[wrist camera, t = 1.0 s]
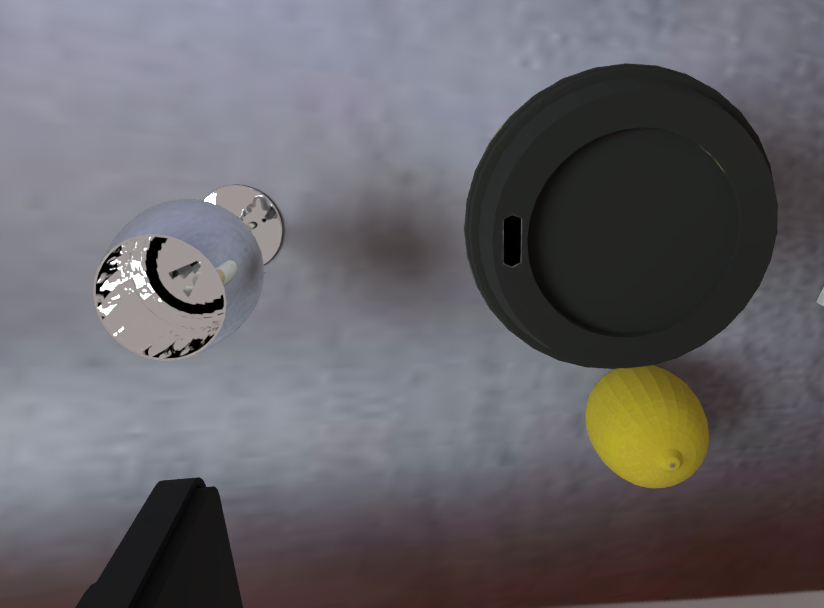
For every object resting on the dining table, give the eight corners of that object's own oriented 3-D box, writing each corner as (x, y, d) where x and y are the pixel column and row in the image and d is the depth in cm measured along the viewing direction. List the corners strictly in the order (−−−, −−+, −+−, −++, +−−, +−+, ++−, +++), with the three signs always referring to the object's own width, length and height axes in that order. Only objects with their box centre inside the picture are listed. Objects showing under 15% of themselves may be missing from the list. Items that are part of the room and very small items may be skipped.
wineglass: (312, 201, 36) (267, 260, 24) (270, 300, 38) (209, 399, 26) (204, 152, 35) (105, 189, 24) (166, 255, 37) (56, 336, 25)
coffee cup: (637, 264, 37) (779, 383, 23) (447, 270, 37) (470, 393, 23) (650, 63, 34) (824, 55, 20) (443, 71, 34) (466, 68, 20)
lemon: (551, 380, 39) (586, 454, 31) (638, 322, 38) (695, 384, 30) (606, 452, 40) (651, 539, 33) (691, 398, 39) (758, 475, 32)
